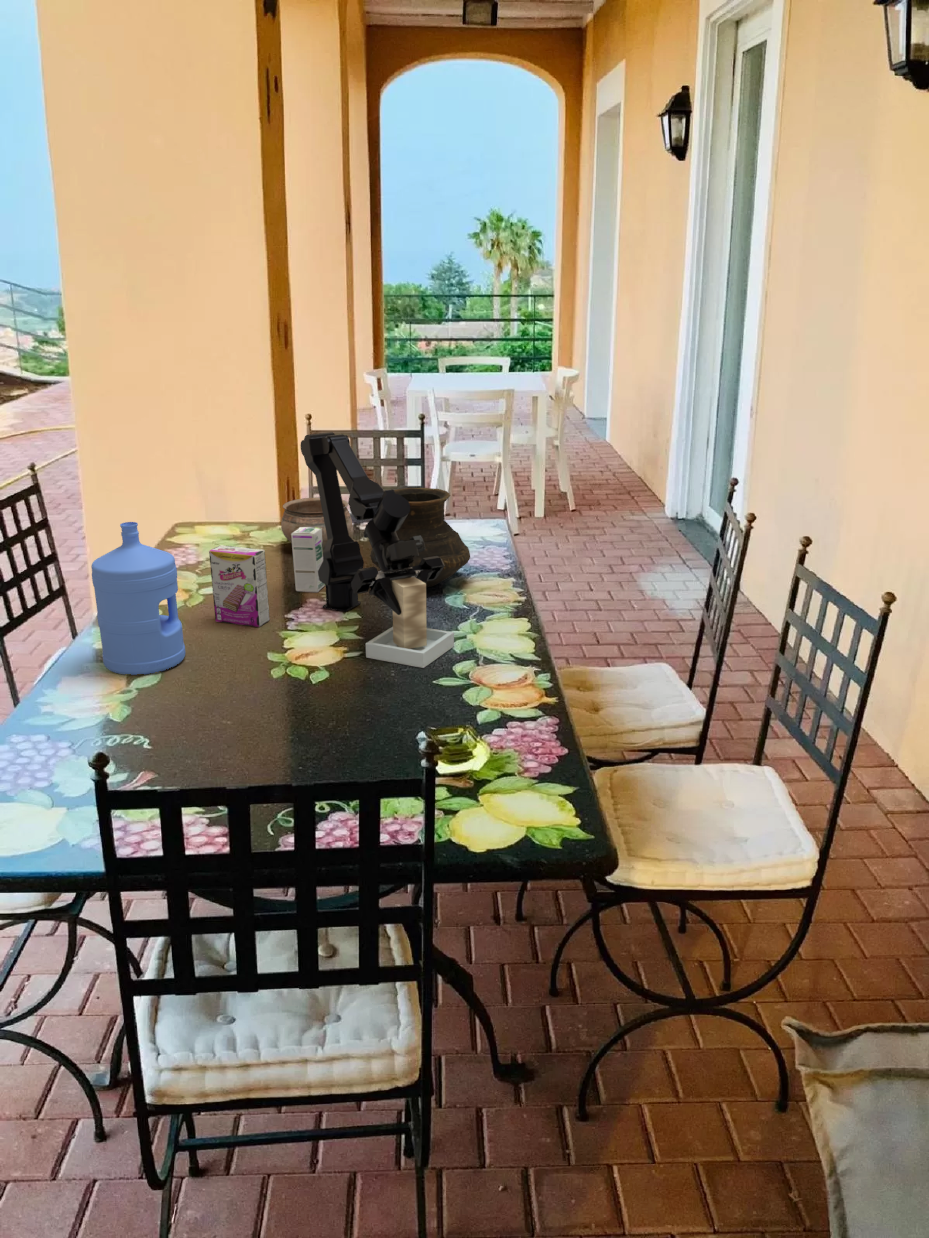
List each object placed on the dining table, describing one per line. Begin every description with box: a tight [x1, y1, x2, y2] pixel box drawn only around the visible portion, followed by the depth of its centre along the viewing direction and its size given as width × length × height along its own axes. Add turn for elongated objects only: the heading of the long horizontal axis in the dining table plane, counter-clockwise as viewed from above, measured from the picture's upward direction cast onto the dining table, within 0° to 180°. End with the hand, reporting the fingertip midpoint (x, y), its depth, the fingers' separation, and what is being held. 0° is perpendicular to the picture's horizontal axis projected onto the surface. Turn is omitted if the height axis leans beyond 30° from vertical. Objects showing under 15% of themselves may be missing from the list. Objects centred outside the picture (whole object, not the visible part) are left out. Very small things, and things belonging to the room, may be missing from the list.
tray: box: [365, 626, 455, 669], centre depth 210 cm, size 13×13×3 cm
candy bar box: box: [208, 544, 271, 628], centre depth 226 cm, size 11×5×16 cm, turn 71°
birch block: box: [391, 577, 428, 649], centre depth 208 cm, size 5×5×13 cm
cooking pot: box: [280, 496, 353, 551], centre depth 281 cm, size 25×19×12 cm
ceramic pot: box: [370, 487, 471, 588], centre depth 250 cm, size 24×24×22 cm
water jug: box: [91, 521, 186, 676], centre depth 202 cm, size 16×16×28 cm
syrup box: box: [291, 527, 325, 593], centre depth 248 cm, size 6×6×14 cm
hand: (412, 611), depth 206 cm, fingers open, 5 cm apart
